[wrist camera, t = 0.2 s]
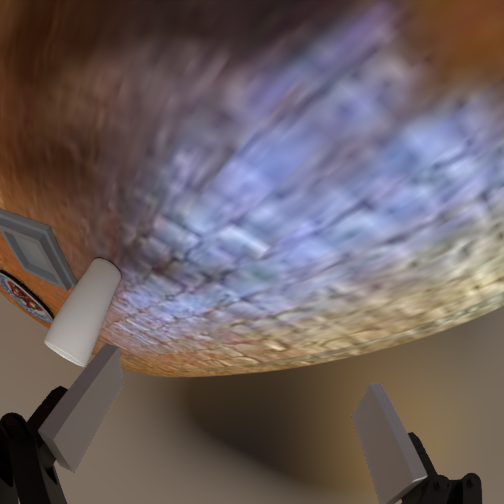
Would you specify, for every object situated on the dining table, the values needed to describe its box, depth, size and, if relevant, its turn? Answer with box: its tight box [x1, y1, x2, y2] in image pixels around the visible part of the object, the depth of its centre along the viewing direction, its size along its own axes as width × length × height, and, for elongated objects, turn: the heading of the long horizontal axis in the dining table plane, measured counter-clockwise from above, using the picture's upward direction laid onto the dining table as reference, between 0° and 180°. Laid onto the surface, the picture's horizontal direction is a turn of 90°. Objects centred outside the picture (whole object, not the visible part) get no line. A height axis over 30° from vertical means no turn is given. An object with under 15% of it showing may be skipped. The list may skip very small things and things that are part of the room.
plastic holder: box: [0, 209, 78, 291], centre depth 37 cm, size 16×16×2 cm
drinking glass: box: [44, 258, 121, 367], centre depth 32 cm, size 7×7×15 cm
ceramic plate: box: [0, 273, 53, 323], centre depth 62 cm, size 26×26×3 cm
